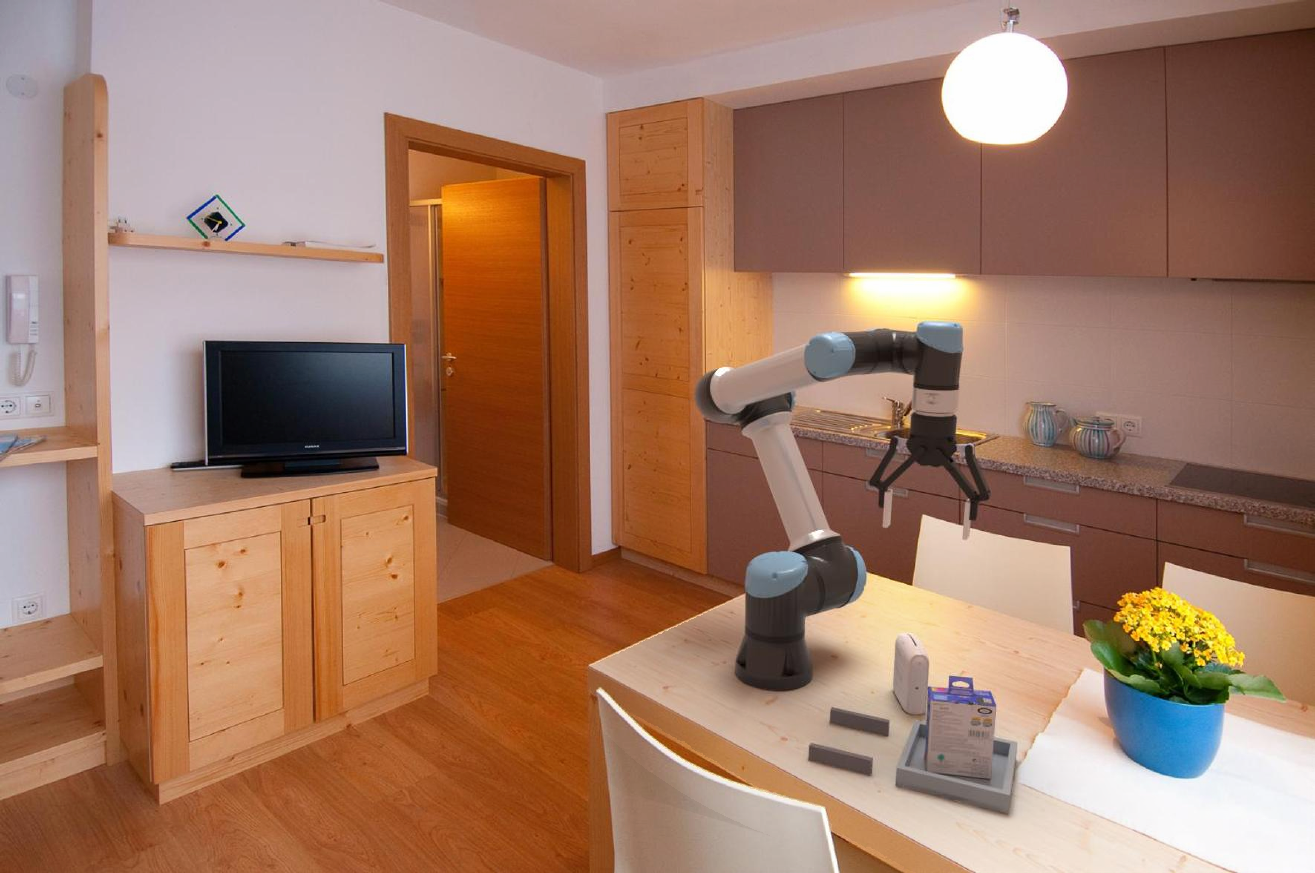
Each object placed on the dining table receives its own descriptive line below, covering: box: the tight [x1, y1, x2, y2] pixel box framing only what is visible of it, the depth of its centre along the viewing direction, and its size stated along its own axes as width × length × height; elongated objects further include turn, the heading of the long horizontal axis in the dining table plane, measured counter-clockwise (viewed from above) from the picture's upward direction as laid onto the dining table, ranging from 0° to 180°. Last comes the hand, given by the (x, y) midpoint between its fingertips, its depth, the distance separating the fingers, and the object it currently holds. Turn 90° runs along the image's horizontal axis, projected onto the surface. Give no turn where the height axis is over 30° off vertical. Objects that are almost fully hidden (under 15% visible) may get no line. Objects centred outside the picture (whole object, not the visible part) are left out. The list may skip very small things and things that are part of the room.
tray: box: [895, 719, 1018, 814], centre depth 133 cm, size 16×16×3 cm
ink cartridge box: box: [924, 675, 997, 779], centre depth 132 cm, size 10×6×14 cm, turn 78°
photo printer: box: [892, 632, 930, 716], centre depth 155 cm, size 10×4×12 cm, turn 179°
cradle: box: [807, 706, 891, 776], centre depth 141 cm, size 10×14×2 cm
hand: (925, 531), depth 149 cm, fingers open, 13 cm apart
